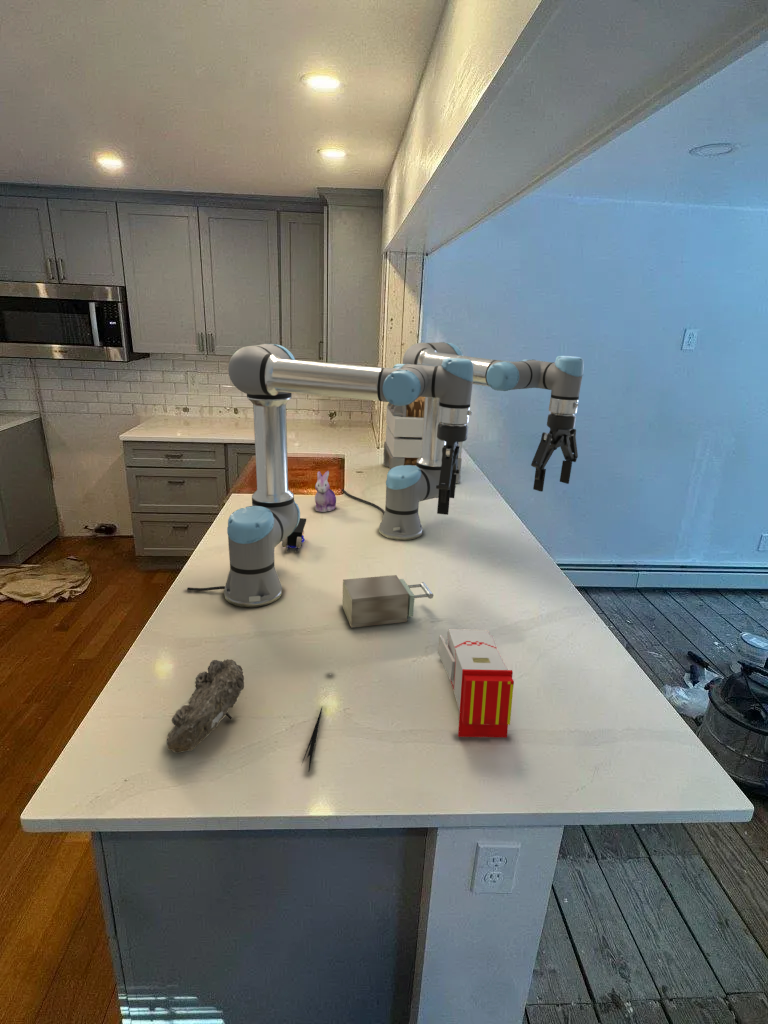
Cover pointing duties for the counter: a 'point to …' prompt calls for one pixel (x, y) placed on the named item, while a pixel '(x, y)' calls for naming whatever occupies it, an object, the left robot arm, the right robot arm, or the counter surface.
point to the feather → (313, 740)
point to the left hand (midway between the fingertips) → (446, 505)
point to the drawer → (412, 596)
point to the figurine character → (295, 536)
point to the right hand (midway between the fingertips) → (551, 486)
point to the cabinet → (375, 601)
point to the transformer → (407, 435)
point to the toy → (478, 682)
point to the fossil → (206, 705)
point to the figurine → (324, 494)
